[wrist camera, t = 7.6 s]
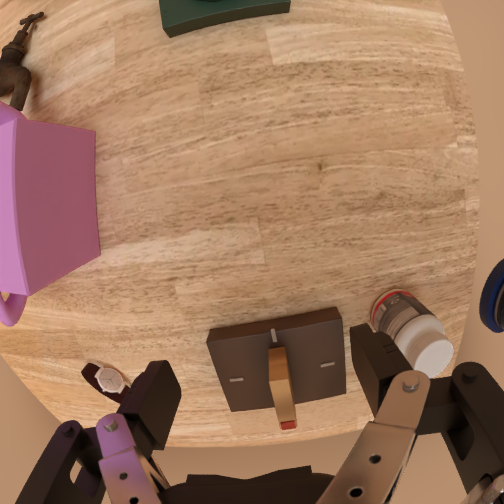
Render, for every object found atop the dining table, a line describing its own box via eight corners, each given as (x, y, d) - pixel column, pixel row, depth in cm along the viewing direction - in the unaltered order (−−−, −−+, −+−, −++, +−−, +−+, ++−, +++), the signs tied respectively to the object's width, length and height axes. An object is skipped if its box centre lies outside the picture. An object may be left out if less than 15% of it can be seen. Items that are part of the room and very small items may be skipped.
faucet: (-24, 117, 23) (12, 32, 21) (32, 113, 22) (81, 10, 20) (-45, 112, 18) (-5, 22, 16) (6, 104, 18) (63, -8, 16)
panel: (335, 303, 28) (342, 315, 25) (342, 382, 30) (346, 396, 28) (209, 326, 29) (204, 339, 26) (233, 399, 31) (231, 415, 29)
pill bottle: (421, 307, 28) (467, 353, 18) (386, 340, 29) (421, 395, 19) (397, 276, 27) (446, 319, 17) (360, 312, 28) (394, 368, 18)
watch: (142, 385, 32) (133, 403, 28) (132, 403, 33) (122, 420, 29) (92, 351, 31) (79, 367, 27) (85, 372, 32) (73, 387, 28)
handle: (268, 348, 26) (268, 383, 21) (285, 345, 26) (288, 380, 21) (278, 396, 28) (280, 431, 23) (293, 393, 28) (297, 429, 23)
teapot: (100, 69, 22) (13, 24, 9) (107, 298, 29) (30, 368, 15) (12, 102, 23) (-67, 92, 9) (21, 288, 29) (-49, 332, 16)
